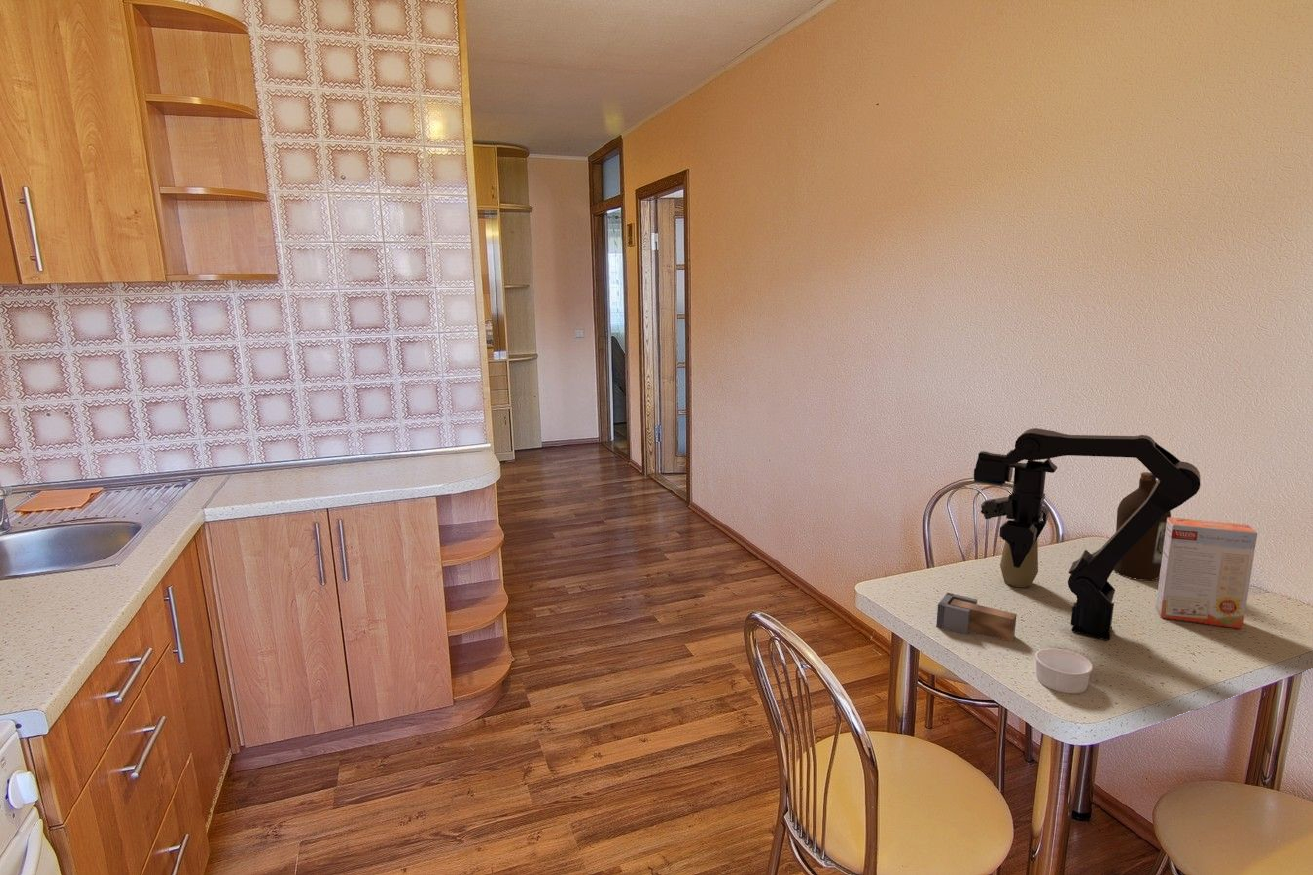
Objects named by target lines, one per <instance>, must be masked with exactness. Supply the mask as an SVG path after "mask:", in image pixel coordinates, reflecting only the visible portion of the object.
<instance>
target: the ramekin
mask: <svg viewBox="0 0 1313 875" xmlns="http://www.w3.org/2000/svg"><path fill="white" fill-rule="evenodd" d="M1034 658H1035V668H1036V669H1035V674H1036V678H1037V680H1038V682H1039V683H1040V684H1042V685H1043V686H1044V687H1045V688H1049V689H1050V690H1053V691H1055V692H1059V693H1061V694H1062V693H1064V694H1069V695H1070V694H1073V695H1074V694H1081V693H1083V692H1085V691H1086V690H1087V689H1088V686H1089V682H1090V677H1091V674H1092V672H1093V669H1094V666H1093V664H1092V662H1091V661H1090V660H1089V659H1088V658H1086V656H1085V657H1084V656H1083V655H1081V654H1079V653H1076V652H1073V651H1071V650H1066V649H1063V648H1061V649H1060V648H1056V647H1055V648H1051V647H1050V648H1049V647H1048V648H1044V649H1043V648H1042V649H1039V650H1038V651H1036V652H1035V655H1034Z"/></svg>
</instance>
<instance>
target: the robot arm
mask: <svg viewBox="0 0 1313 875" xmlns="http://www.w3.org/2000/svg"><path fill="white" fill-rule="evenodd" d="M1065 456H1074V457H1075V456H1078V457H1080V456H1081V457H1104V458H1105V457H1107V458H1109V457H1110V458H1134V459H1136V460H1138V461H1139V462H1140V463H1141V465H1143V466H1144V467H1145V468H1146V469H1147V470H1148V471H1149V473H1152V474H1153V475H1154V476H1155V477H1156V480H1157V482H1156V484H1155V486H1154V488H1153V489H1152V491H1151V493H1150V495H1149V497H1148V498H1147V499H1146V500H1145V501H1144V502H1143V504H1142V505H1141V506H1140V507H1139V508H1138V509H1137V510H1136V511H1135V512H1134V513H1133V514H1132V515H1131V516H1130V517H1129V519H1128V520H1127V521H1126V522H1125V523H1124V524H1123V525H1122V526H1121V527H1120V528H1119V529H1118V530H1117V531H1116V530H1115V532H1114V534H1112V536H1110V538H1108V540H1107V541H1105V543H1104V544H1103V545H1102V546H1101V547H1100V548H1099V549H1098V550H1096V551H1093V553H1090V552H1089V551H1088V550H1087V549H1085V550H1084V551H1083V552H1082V553H1081V556H1080V557H1079V558H1078V559H1077V560H1075V561H1073V562H1072V564H1071V566H1070V569H1069V571H1068V574H1070V575H1069V577H1068V579H1067V585H1068V588H1069V590H1070V592H1071V593H1072V594H1074V595H1075V596H1076V602H1074V603H1073V604H1072V608H1071V616H1070V623H1069V624H1070V625H1071V626H1072V627H1071V632H1073V633H1076V634H1080V635H1085V636H1089V637H1093V638H1097V639H1101V640H1104V641H1105V640H1106V641H1109V640H1110V638H1111V634H1112V632H1113V625H1112V624H1113V623H1112V622H1113V617H1114V616H1113V614H1114V608H1115V603H1114V602H1113V600H1114V595H1115V592H1116V589H1115V587H1113V585H1112V584H1111V583H1110V582H1109V581H1108V580H1109V578H1110V576H1111V575H1112V572H1113V571H1114V570H1113V569H1114V567H1115V566H1116V565H1117V564H1118V563H1119V562H1120V560H1121V559H1122V558H1123V557H1124V556H1125V555H1126V554H1127V553H1128V552H1129V551H1130V550H1131V549H1132V548H1133V547H1134V546H1135V545H1136V544H1137V543H1138V542H1139V541H1140V540H1141V539H1142V538H1143V537H1144V536H1145V534H1146V533H1147V532H1148V531H1149V530H1150V529H1151V528H1152V527H1153V526H1154V525H1155V524H1156V523H1157V522H1158V521H1159V520H1160V519H1161V518H1162V517H1163V516H1164V515H1165V514H1166V513H1167V512H1169V511H1170V512H1171V511H1173V510H1174V509H1176V508H1178V507H1179V506H1181V505H1183V504H1184V503H1185V502H1187V501H1188V500H1190V499H1191V498H1193V497H1194V496H1195V495H1197V493H1198V492H1199V490H1200V488H1201V473H1200V471H1199V469H1198V468H1197V467H1196V466H1195V465H1193V464H1192V463H1190V462H1186V461H1181V460H1180V459H1179V458H1178V457H1176V456H1175V455H1174V454H1173V453H1172V452H1170V451H1169V450H1167V449H1166V448H1164V447H1162V446H1161V445H1159V443H1157V442H1156V441H1155V440H1154V439H1153V438H1152V437H1151V436H1149V435H1145V434H1140V435H1099V434H1098V435H1095V434H1094V435H1093V434H1092V435H1089V434H1087V435H1086V434H1066V433H1062V432H1058V431H1054V430H1051V429H1044V428H1037V427H1036V428H1035V427H1034V428H1028V429H1026V430H1025V431H1024V432H1023V433H1022V434H1021V435H1020V436H1018V437H1017V439H1016V440H1015V443H1014V448H1013V449H1011V450H1009V451H1008V453H1006V454H1001V453H993V452H988V451H984V450H983V451H982V450H981V451H980V452H978V457H977V460H976V463H975V467H974V469H973V481H974V483H977V484H986V485H991V486H992V485H993V486H997V487H1005V484H1006V482H1007V483H1011V481H1012V477H1013V482H1012V492H1011V493H1010V494H1009V495H1008V496H1007V497H1006V496H1004V497H998V498H992V499H991V498H990V499H987V500H985V501H983V502H982V503H981V504H980V507H981V508H980V509H981V510H980V513H981V514H982V515H983V517H984V519H985V520H991V519H993V518H998V517H1004V516H1006V517H1005V519H1008V520H1006V521H1005V522H1003V523H1002V525H1000V527H999V535H998V537H1000V538H1001V540H1003V541H1004V542H1005V541H1006V542H1007V543H1008V544H1009V546H1010V550H1011V555H1012V560H1013V565H1014V567H1017V568H1020V566H1021V565H1022V563H1023V561H1024V559H1025V558H1026V556H1027V554H1029V552H1030V550H1031V548H1032V547H1033V545H1034V543H1035V542H1036V540H1037V539H1039V536H1040V534H1042V531H1043V529H1044V528H1045V526H1046V525H1047V522H1048V520H1049V514H1050V513H1049V512H1050V511H1049V509H1048V508H1047V507H1046V506H1044V505H1043V502H1044V500H1045V498H1046V493H1044V492H1045V484H1046V475H1047V474H1046V473H1051V474H1052V473H1055V472H1056V471H1057V470H1058V466H1057V465H1056V464H1055V463H1053V462H1052V460H1051V459H1054V458H1058V457H1065ZM1024 460H1025V461H1027V462H1021V461H1024ZM1040 460H1043V461H1040ZM1013 470H1014V471H1013ZM1013 472H1014V474H1013Z"/></svg>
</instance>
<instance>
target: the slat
mask: <svg viewBox="0 0 1313 875" xmlns="http://www.w3.org/2000/svg"><path fill="white" fill-rule="evenodd" d="M950 605H953V606H957V607H961V608H965V609H969V610H970V619H969V631H968V632H972V633H975V632H976V634H978V633H980V634H979V635H982V634H983V636H986V637H990V638H995V639H999V640H1001V639H1003V640H1002V641H1005V640H1007V642H1009V641H1010V643H1012V642H1011V641H1013V640H1014V638H1015V634H1016V624H1017V613H1015V612H1009V611H1005V610H1002V609H997V608H993V607H989V606H985V605H980V604H978V603H977V604H973V603H969V602H964V601H960V600H956V599H953V601H952V602H951V603H950ZM1012 639H1013V640H1012Z"/></svg>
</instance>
